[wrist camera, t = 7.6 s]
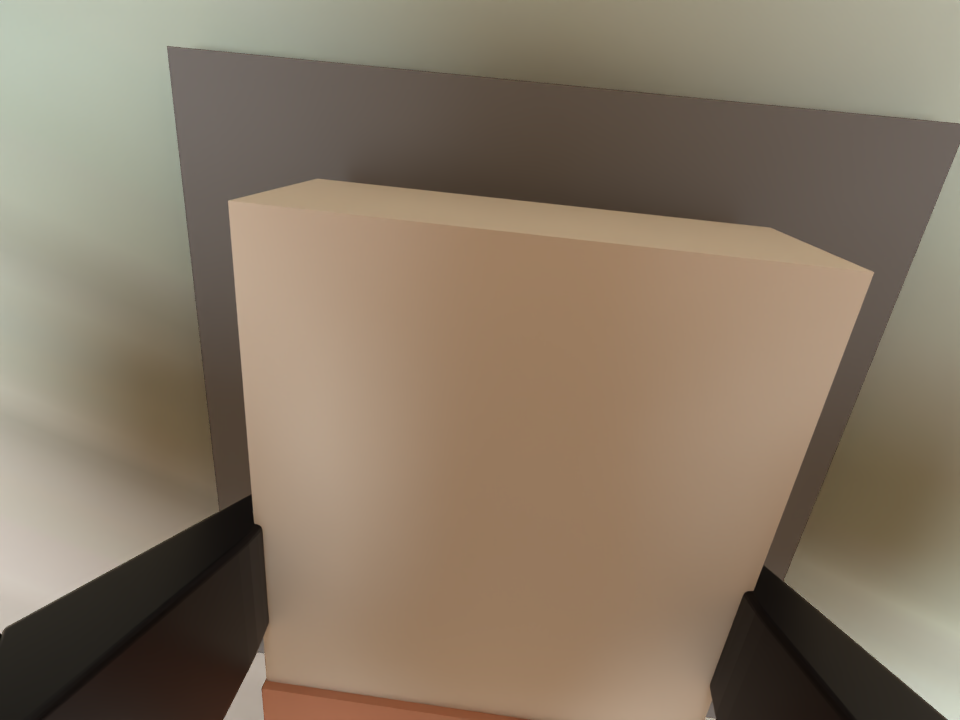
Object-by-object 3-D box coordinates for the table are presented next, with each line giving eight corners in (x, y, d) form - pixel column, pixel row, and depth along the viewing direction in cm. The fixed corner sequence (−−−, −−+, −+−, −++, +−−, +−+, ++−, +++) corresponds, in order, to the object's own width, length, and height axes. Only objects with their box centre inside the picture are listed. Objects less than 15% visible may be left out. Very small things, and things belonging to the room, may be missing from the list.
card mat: (718, 694, 13) (727, 720, 12) (247, 627, 13) (235, 648, 13) (936, 124, 8) (967, 124, 7) (190, 51, 8) (166, 45, 8)
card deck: (772, 228, 7) (884, 276, 5) (632, 698, 11) (660, 854, 8) (315, 178, 8) (219, 201, 5) (326, 653, 11) (270, 793, 9)
